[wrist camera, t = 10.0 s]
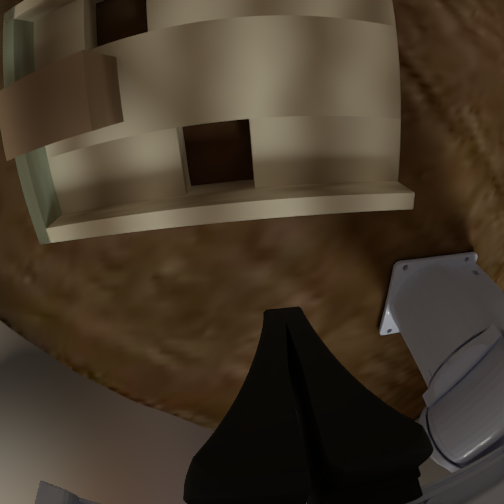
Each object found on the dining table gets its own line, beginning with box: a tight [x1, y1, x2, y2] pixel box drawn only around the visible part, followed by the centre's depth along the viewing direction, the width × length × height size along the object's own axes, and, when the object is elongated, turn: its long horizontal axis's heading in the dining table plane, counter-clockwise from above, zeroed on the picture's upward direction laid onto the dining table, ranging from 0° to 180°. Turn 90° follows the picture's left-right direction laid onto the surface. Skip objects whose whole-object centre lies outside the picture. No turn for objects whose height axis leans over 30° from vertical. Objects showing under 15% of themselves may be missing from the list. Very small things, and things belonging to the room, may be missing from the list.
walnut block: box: [0, 50, 124, 161], centre depth 12 cm, size 6×4×4 cm, turn 94°
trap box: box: [3, 0, 415, 244], centre depth 13 cm, size 23×16×4 cm
